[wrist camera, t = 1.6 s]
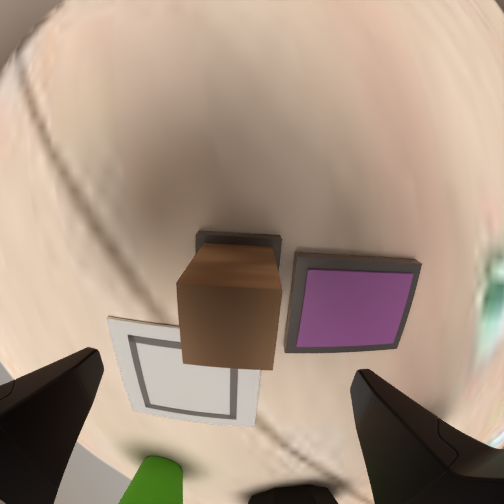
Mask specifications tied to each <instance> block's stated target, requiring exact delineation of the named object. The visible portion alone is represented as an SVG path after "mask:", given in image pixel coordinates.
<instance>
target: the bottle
mask: <svg viewBox="0 0 504 504" xmlns="http://www.w3.org/2000/svg"><path fill="white" fill-rule="evenodd" d="M248 504H338V503H337V501H336V500H335V498H334V497H333V495H332V494H331V492H330V491H329V489H328V488H325V487H318V486H312V485H304V486H294V487H282V488H274V489H271V490H268V491H266V492H263V493H260V494H257V495H254V496H252V497H251V499H250V501H249V503H248Z"/></svg>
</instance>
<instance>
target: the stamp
mask: <svg viewBox="0 0 504 504" xmlns="http://www.w3.org/2000/svg"><path fill="white" fill-rule="evenodd" d="M281 242H282V238H281V236H280V235H268V234H250V233H232V232H213V231H198V232H197V233H196V255H195V256H194V258H193V259H192V261H191V262H190V264H189V265H188V267H187V268H186V270H185V271H184V272H183V274H182V275H181V277H180V278H179V280H178V281H177V283H176V284H177V302H178V316H179V329H180V340H181V350H182V360H183V364H190V365H198V366H208V367H219V368H232V369H249V370H273V363H274V355H275V347H276V339H277V331H278V323H279V314H280V305H281V296H282V286H281V282H280V277H279V265H280V253H281Z"/></svg>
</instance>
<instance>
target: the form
mask: <svg viewBox="0 0 504 504" xmlns="http://www.w3.org/2000/svg"><path fill="white" fill-rule="evenodd" d="M107 323H108V327H109V332H110V336H111V340H112V344H113V348H114V352H115V356H116V360H117V363H118V367H119V370H120V374H121V377H122V380H123V384H124V387H125V390H126V393H127V396H128V399H129V402H130V405H131V407H132V410H133V411H137V412H141V413H146V414H150V415H155V416H160V417H165V418H171V419H177V420H183V421H190V422H197V423H206V424H215V425H226V426H241V427H255V418H256V409H257V400H258V391H259V381H260V371H261V370H249V369H232V368H219V367H208V366H198V365H190V364H183V360H182V350H181V340H180V329H179V326H171V325H163V324H155V323H148V322H141V321H134V320H127V319H121V318H115V317H109V316H108V317H107Z"/></svg>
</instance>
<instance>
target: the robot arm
mask: <svg viewBox="0 0 504 504" xmlns="http://www.w3.org/2000/svg"><path fill="white" fill-rule="evenodd" d="M103 372H104V366H103V363H102V359H101V356H100V353H99V351H98V350H97V349H95V348H90V347H87V348H85V349H83V350H80V351H78V352H76V353H74V354H72V355H69V356H67V357H65V358H63V359H60V360H58V361H56V362H54V363H52V364H49V365H47V366H45V367H42V368H40V369H38V370H36V371H33V372H31V373H29V374H27V375H24V376H22V377H20V378H17V379H16V380H13V381H10V382H8V383H6V384H3V385H1V386H0V504H54V501H55V498H56V495H57V491H58V488H59V485H60V482H61V480H62V477H63V474H64V471H65V469H66V466H67V463H68V461H69V458H70V456H71V453H72V451H73V448H74V446H75V443H76V441H77V439H78V436H79V434H80V431H81V429H82V427H83V425H84V422H85V420H86V418H87V416H88V413H89V411H90V409H91V407H92V404H93V401H94V399H95V396H96V393H97V390H98V387H99V384H100V381H101V378H102V375H103ZM350 393H351V399H352V406H353V412H354V419H355V425H356V430H357V434H358V437H359V441H360V445H361V449H362V452H363V456H364V460H365V464H366V468H367V472H368V476H369V480H370V484H371V489H372V493H373V497H374V502H375V504H504V449H496V448H493V447H490V446H488V445H486V444H484V443H482V442H480V441H478V440H476V439H474V438H472V437H470V436H468V435H466V434H464V433H462V432H461V431H459V430H457V429H455V428H454V427H452V426H451V425H449V424H447V423H446V422H444V421H443V420H441V419H440V418H438V417H437V416H435V415H434V414H432V413H431V412H430V411H428V410H427V409H425V408H424V407H422V406H421V405H419V404H418V403H416V402H415V401H414V400H412V399H411V398H409V397H408V396H406V395H405V394H404V393H402V392H401V391H399V390H398V389H396V388H395V387H394V386H392V385H391V384H389V383H388V382H387V381H385V380H384V379H382V378H381V377H380V376H378V375H377V374H375V373H374V372H373V371H371V370H370V369H359V370H357V372H356V374H355V376H354V379H353V382H352V385H351V388H350Z"/></svg>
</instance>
